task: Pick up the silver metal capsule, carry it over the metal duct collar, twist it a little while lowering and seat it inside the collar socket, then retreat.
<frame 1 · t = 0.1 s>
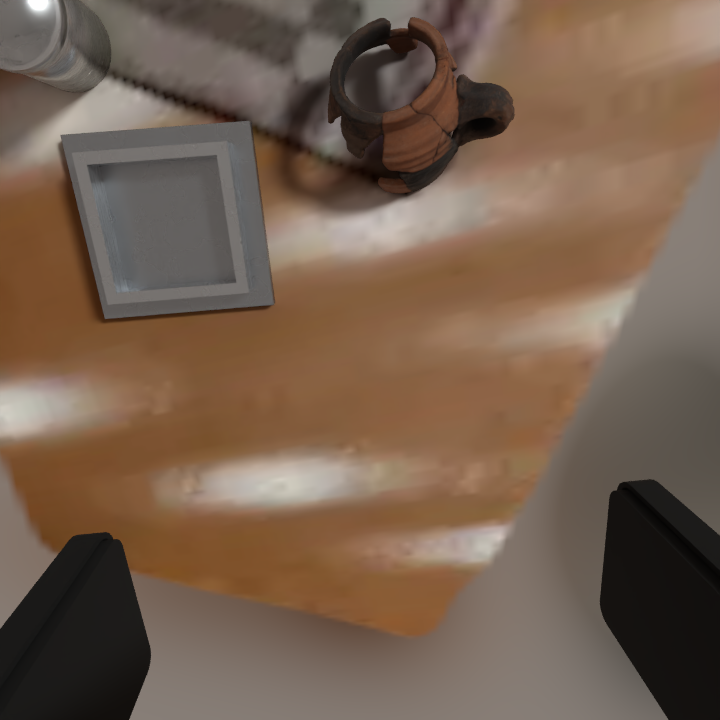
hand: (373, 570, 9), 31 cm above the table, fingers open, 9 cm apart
duct collar: (176, 224, 37), on the table
pottery mug: (411, 121, 36), on the table
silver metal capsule: (68, 45, 33), on the table
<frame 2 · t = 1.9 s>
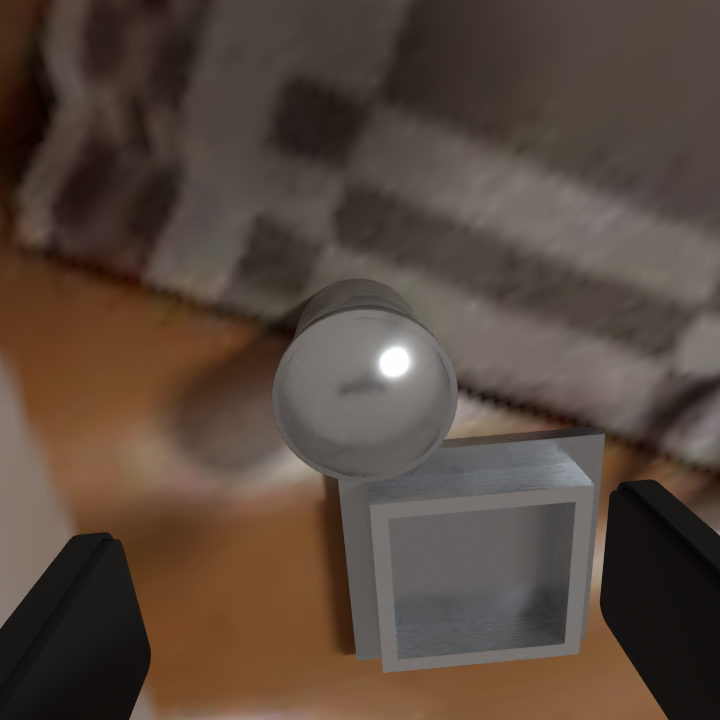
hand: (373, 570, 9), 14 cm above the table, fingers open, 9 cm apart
duct collar: (467, 545, 26), on the table
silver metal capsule: (357, 339, 23), on the table
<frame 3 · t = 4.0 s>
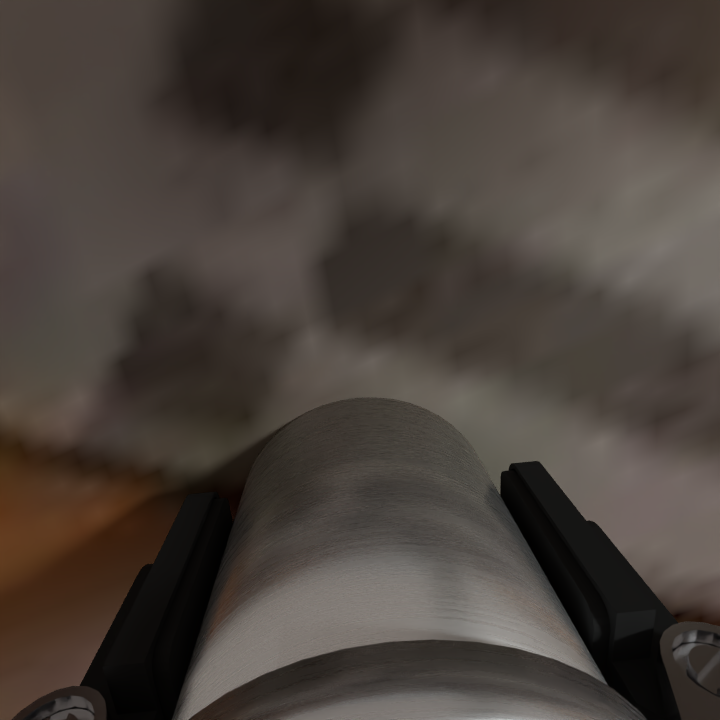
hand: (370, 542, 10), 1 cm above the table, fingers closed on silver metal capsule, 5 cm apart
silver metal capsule: (367, 512, 11), on the table, touching gripper
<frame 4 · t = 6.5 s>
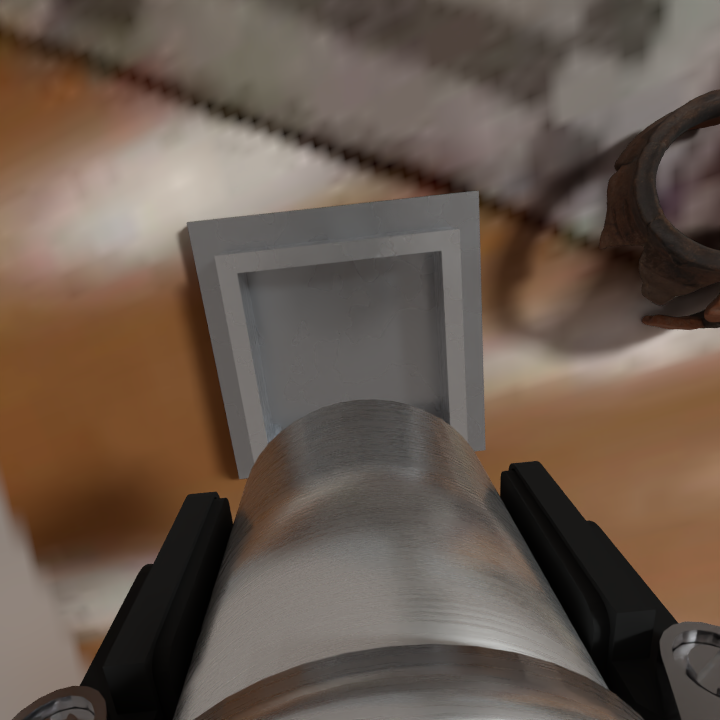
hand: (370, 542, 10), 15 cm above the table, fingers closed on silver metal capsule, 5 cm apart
duct collar: (348, 341, 25), on the table
pottery mug: (689, 223, 24), on the table
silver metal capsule: (367, 513, 11), point 14 cm above the table, touching gripper
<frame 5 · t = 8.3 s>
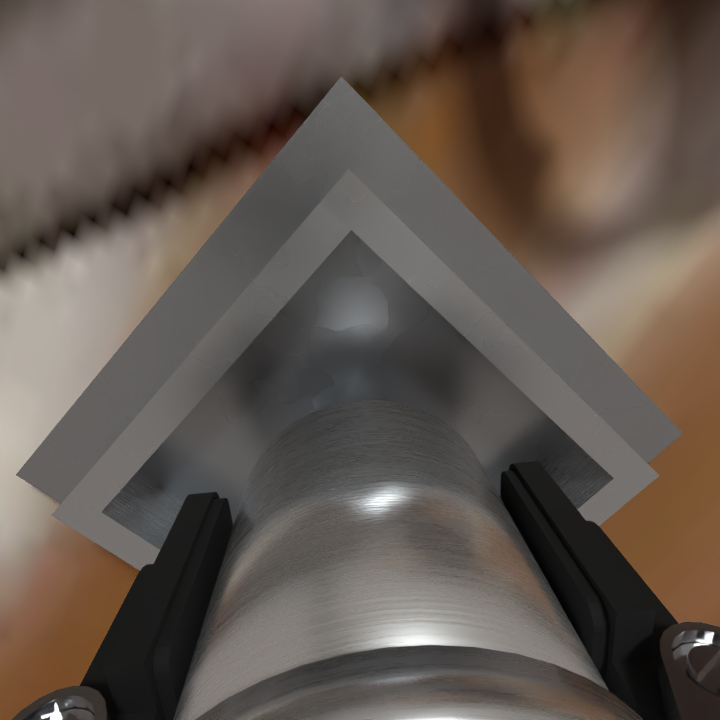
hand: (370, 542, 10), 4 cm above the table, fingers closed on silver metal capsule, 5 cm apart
duct collar: (357, 440, 14), on the table
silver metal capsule: (367, 514, 11), point 3 cm above the table, touching gripper
when the fingers open (3 cm above the table, at t = 9.4 s): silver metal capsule drops 2 cm, resting on duct collar.
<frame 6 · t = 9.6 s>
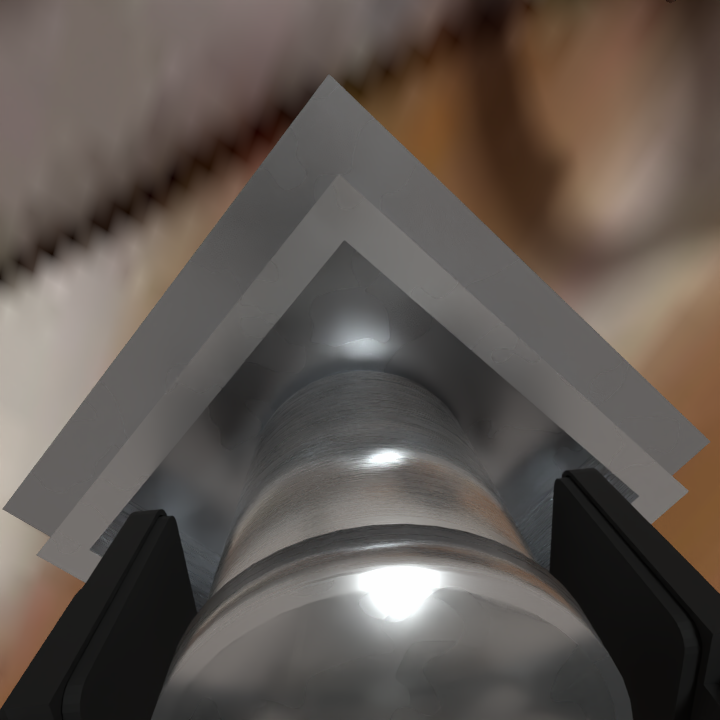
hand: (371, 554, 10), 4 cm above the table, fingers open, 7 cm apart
duct collar: (361, 459, 14), on the table
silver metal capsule: (362, 473, 13), point 1 cm above the table, touching duct collar
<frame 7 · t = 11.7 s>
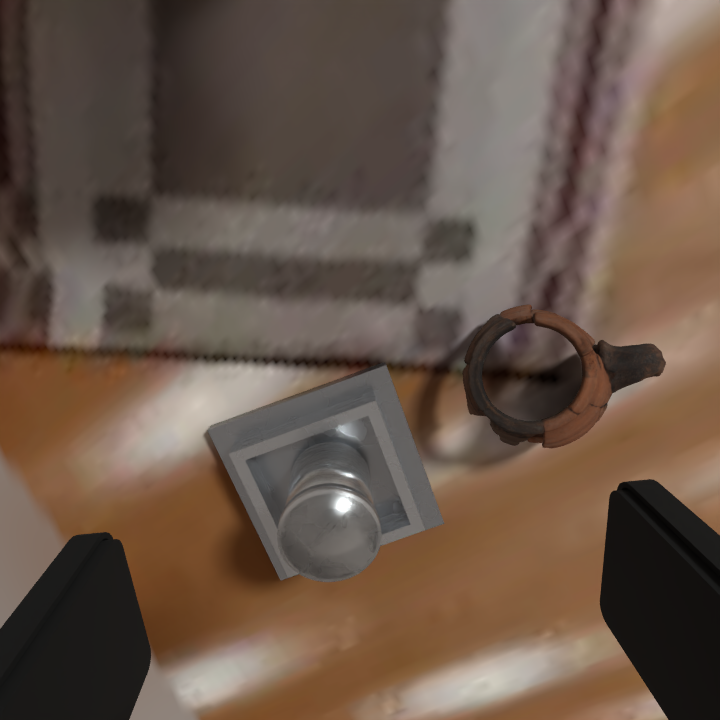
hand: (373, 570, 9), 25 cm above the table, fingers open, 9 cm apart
duct collar: (330, 473, 36), on the table
pottery mug: (537, 365, 35), on the table
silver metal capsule: (330, 478, 35), point 1 cm above the table, touching duct collar
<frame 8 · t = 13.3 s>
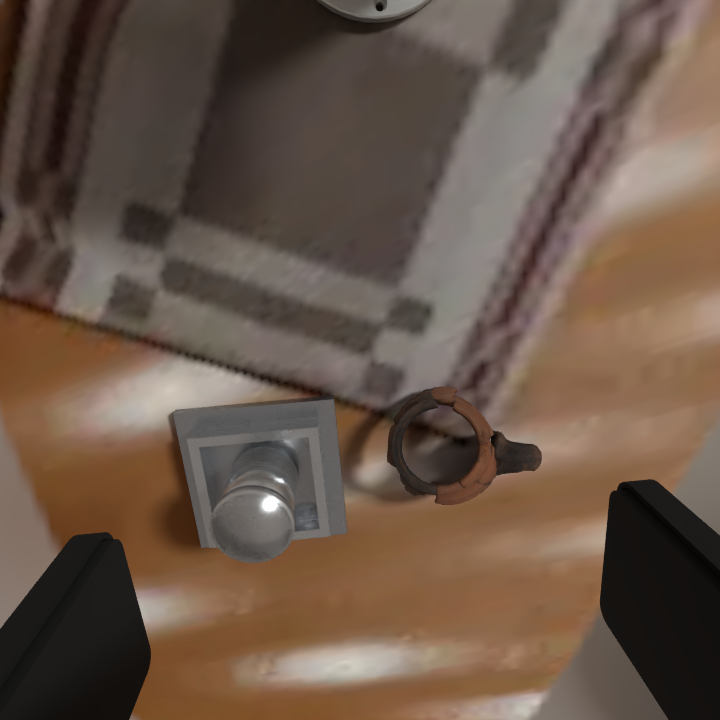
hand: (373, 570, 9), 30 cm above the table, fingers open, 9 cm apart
duct collar: (265, 471, 43), on the table
pottery mug: (452, 433, 43), on the table
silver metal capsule: (264, 476, 42), point 1 cm above the table, touching duct collar
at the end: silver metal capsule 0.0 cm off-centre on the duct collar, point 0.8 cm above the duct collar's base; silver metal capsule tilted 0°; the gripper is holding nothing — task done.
